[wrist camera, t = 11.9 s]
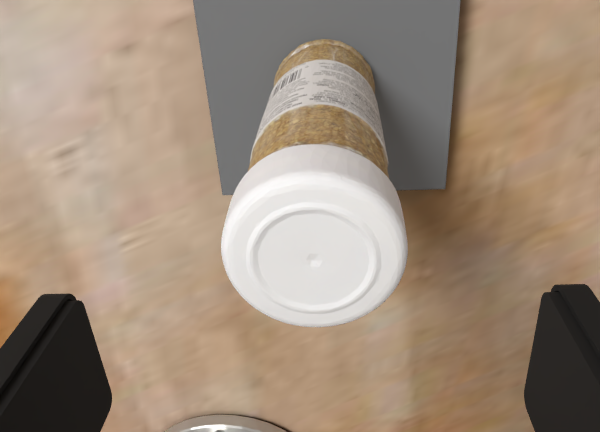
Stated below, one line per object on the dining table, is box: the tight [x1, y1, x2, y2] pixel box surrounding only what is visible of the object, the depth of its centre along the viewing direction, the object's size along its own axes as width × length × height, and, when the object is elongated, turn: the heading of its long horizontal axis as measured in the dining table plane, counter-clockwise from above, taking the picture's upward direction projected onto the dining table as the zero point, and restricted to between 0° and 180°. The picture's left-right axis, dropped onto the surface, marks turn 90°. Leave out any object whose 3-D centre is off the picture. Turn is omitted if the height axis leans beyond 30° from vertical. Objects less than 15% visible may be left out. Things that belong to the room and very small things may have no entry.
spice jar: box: [221, 39, 408, 327], centre depth 19 cm, size 5×5×13 cm
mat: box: [193, 0, 460, 195], centre depth 25 cm, size 11×11×1 cm
